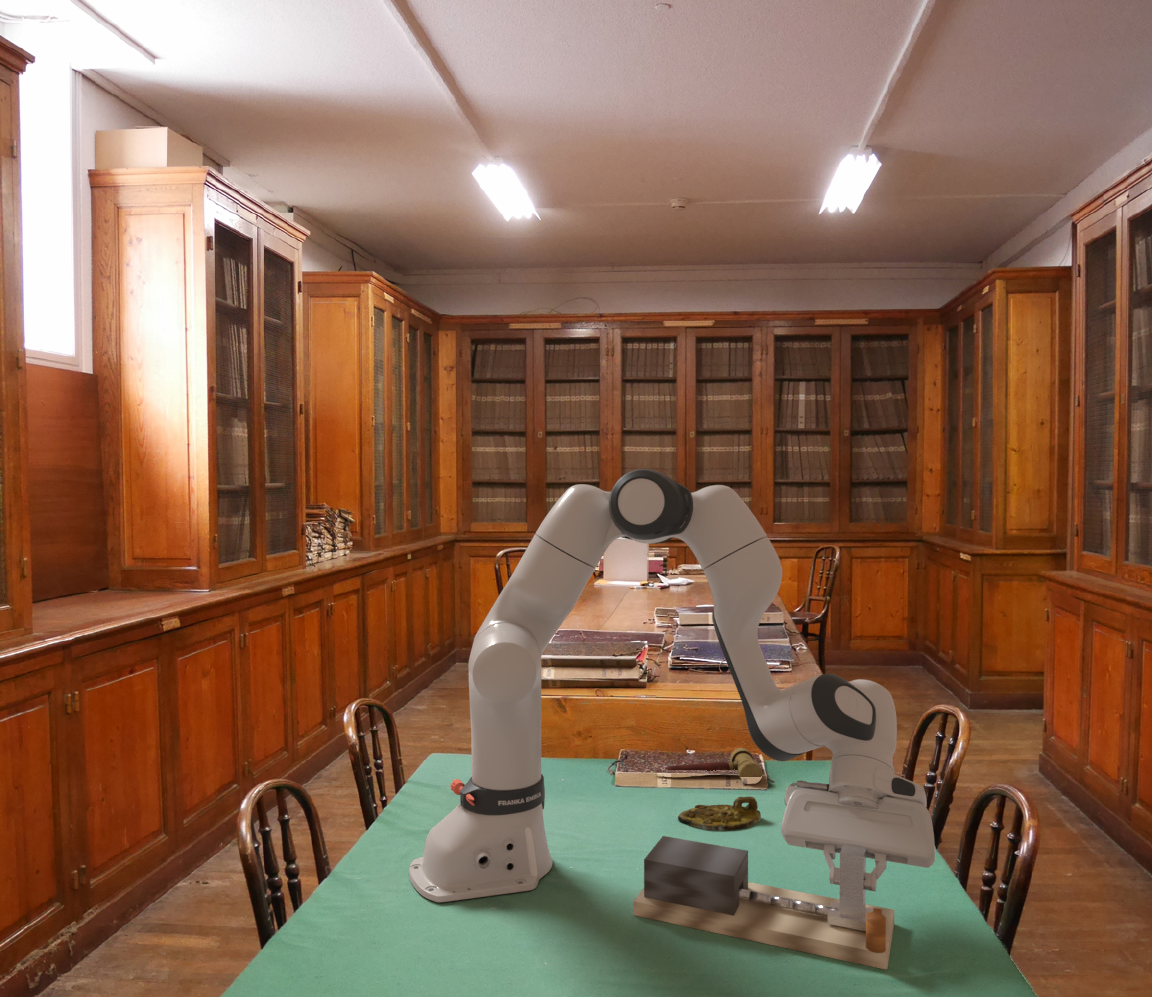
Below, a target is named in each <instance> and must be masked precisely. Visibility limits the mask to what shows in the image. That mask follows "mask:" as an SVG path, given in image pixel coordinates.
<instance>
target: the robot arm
mask: <svg viewBox="0 0 1152 997" xmlns="http://www.w3.org/2000/svg"><path fill="white" fill-rule="evenodd" d="M619 538H622V539H627V540H632V541H635V542H637V543H640V544H650V545H653V544H654V545H655V544H662V543H666V542H668V541H670V540H671V539H673V538H676V539H679V540H681V541H682V542H684V543H685V544H686V545H687V546H688V548H689V549H690V550H691V552H692V554H693V555H694V557H695V559H696V560H697V562H698V564H699V566H700V568H701V570H702V572H703V573H704V575H705V578H706V580H707V583H708V585H709V589H710V592H711V596H712V601H713V602H712V603H713V608H712V613H711V616H712V617H711V618H712V624H713V627H714V628H713V629H714V632H715V634H716V638H717V640H718V643H719V646H720V649H721V651H722V654H723V656H724V659H725V661H726V665H727V666H728V667H727V668H728V669H729V672H730V674H731V677H732V679H733V682H734V685H735V687H736V690H737V693H738V695H739V697H740V700H741V704H742V706H743V710H744V715H745V719H746V725H747V728H748V733H749V735H750V738H751V740H752V742H753V743H754V744H755V746H756V747H757V748H758V749H759V750H760V751H761V752H762V753H763V754H765V756H767V757H769V758H770V759H772V760H775V761H778V762H788V761H790V760H793V759H795V758H798V757H800V756H801V755H804V754H806V753H808V752H810V751H814V750H817V749H820V748H827V749H828V750H830V752H831V753H832V758H831V761H830V771H829V777H828V783H822V782H809V781H806V780H797V782H792V783H791V784H788V786H787V787H786V789H785V794H784V804H785V809H784V812H783V816H782V817H783V818H782V821H781V828H780V832H781V836H782V838H783V839H784V840H785V842H786V843H787V845H789V846H792V847H793V846H794V847H799V848H805V849H811V850H817V851H823V857H824V859H825V861H826V864H827V866H828V868H829V879H828V880H829V884H830V885H836V886H837V885H838V886H840V867H837V866H835V863H834V860H836V858H837V857H836V856H837V854H840V851H841V848H842V845H843V844H846V845H852V846H859V847H865V848H866V859H870V860H871V859H872V860H874V862H875V867H874V868H873V870H872V871H871V872H866V873H865V875H864V878H865V880H864V889H865V890H866V891H870V892H875V893H876V892H877V881H878V880H879V878H881V876H882V875H883V873H884V872H885V871H886V870H887V864H888V863H887V862H890V863H895V864H901V865H902V864H903V865H907V866H915V867H919V868H920V867H921V868H926V869H928V868H930V867H932V866H933V865H934V863H935V862H936V848H935V847H936V846H935V833H934V827H933V821H932V817H931V816H932V815H931V814H930V811H929V810H928V808H927V807H928V805H927V804H928V803H927V795H926V791H925V789H924V787H923V786H922V785H921V784H919V783H916V782H914V781H912V780H910V779H906V778H904V777H901V776H900V775H897V774H895V768H894V767H895V766H894V763H893V757H894V754H895V752H896V750H897V736H898V735H897V734H898V732H897V731H898V723H897V722H898V720H897V713H896V707H895V700H894V699H893V696H892V694H891V693H890V691H889V690H888V689H887V688H886V687H884V686H883V685H881V684H879V683H877V682H875V681H873V680H869V679H864V678H863V679H861V678H859V679H858V678H857V679H853V680H851V681H848V680H847V679H844V678H843V677H841V676H839V675H837V674H834V673H823V674H820V675H816V676H813V677H811V678H808V679H806V680H803V681H800V682H798V683H796V684H794V685H791V686H789V687H786V688H784V689H781V688H779V687H778V686H777V685H776V683H775V680H774V678H773V676H772V672H771V670H770V667H769V665H768V663H767V661H766V660H767V659H766V658H765V656H764V653H763V650H762V647H761V644H760V642H759V637H758V635H759V634H758V630H759V626H760V622H761V619H762V618H763V616H764V614H765V613H766V611H767V610H768V609H769V607H770V606H771V605H772V603H773V602H774V600H775V598H776V597H777V594H778V593H779V591H780V588H781V585H782V579H783V567H782V564H781V560H780V558H779V555H778V553H777V551H776V549H775V547H774V545H773V544H772V542H771V540H770V539H769V537H768V535H767V533H766V531H765V530H764V528H763V526H762V525H761V523H760V522H759V520H758V519H757V517H756V516H755V515H754V513H753V512H752V511H751V509H750V508H749V506H748V505H747V504H746V503H745V502H744V500H743V499H742V498H741V497H740V496H739V494H738V493H737V492H736V491H735V490H734V488H732V487H730V486H727V485H724V484H715V485H714V484H713V485H709V486H706V487H703V488H700V489H698V490H696V491H693V492H691V490H690V489H689V488H688V487H686V486H684V485H682V483H681V484H680V483H679V482H678V481H676V480H674V479H673V478H671V477H670V476H668V475H667V474H665V473H663V472H660V471H658V470H656V469H655V470H654V469H651V468H639V469H633V470H632V471H628V472H626V473H625V474H624V475H622V476H621V477H620V478H619V479H618V480H617V481H616V483H614V485H613V486H612V490H610V491H606V490H603V489H601V488H600V487H599V488H598V487H597V486H594V485H591V484H583V483H582V484H581V483H580V484H575V485H572V486H570V487H568V488H567V489H566V490H565V492H564V493H563V494H562V495H561V496H560V497H559V498H558V500H556V502H555V504H553V506H552V507H551V509H550V510H549V512H548V513H547V514H546V516H545V517H544V519H543V520H542V522H541V523H540V525H539V527H538V529H537V530H536V532H535V533H534V535H533V537H532V538H531V540H530V542H529V544H528V546H527V548H526V549H525V551H524V553H523V555H522V556H521V559H520V560H519V562H518V564H517V565H516V567H515V569H514V570H513V572H512V574H511V576H510V577H509V579H508V581H507V583H506V584H505V586H504V587H503V589H502V590H501V592H500V593H499V595H498V597H497V599H496V600H495V602H494V604H493V605H492V606H491V609H490V610H489V612H488V613H487V615H486V617H484V618H485V619H484V621H482V624H481V625H480V627H479V628H478V630H477V632H476V634H475V635H474V639H473V642H472V646H471V651H470V654H469V658H468V665H467V666H468V695H469V697H468V698H469V716H470V731H471V732H470V733H471V735H470V736H471V737H470V738H471V744H470V745H471V747H470V748H471V776H470V778H469V780H468V781H467V782H466V783H463V781H462V780H461V779H459V778H456V779H453V780H452V782H451V783H450V786H449V787H450V790H451V791H452V792H453V793H454V794H455V795H457V796H459V798H460V799H459V801H460V803H459V804H458V805H457V806H456V807H455V808H453V810H451V811H450V812H449V813H448V814H447V815H446V816H445V817H443V818H442V819H441V820H440V821H439V822H438V823H437V824H435V825H434V826H433V827H432V828H430V830H429V832H428V834H427V836H426V839H425V843H424V849H423V856H420V857H417V858H415V859H413V860H412V861H411V863H410V865H409V871H408V876H409V880H410V882H411V885H412V886H413V888H415V890H416V891H417V892H418V893H419V894H420V895H421V896H422V897H423V898H426V899H427V900H430V901H433V902H435V903H447V902H453V901H460V900H461V901H462V900H468V899H475V898H476V899H477V898H482V897H484V898H485V897H492V896H498V895H506V894H513V893H521V892H528V891H533V890H535V889H536V888H537V886H538V884H539V881H540V879H542V878H543V877H544V876H545V875H547V874H548V873H549V872H550V871H551V869H552V867H553V858H552V856H551V853H550V848H549V845H548V840H547V835H546V829H545V822H544V821H545V820H544V811H543V810H544V809H545V801H546V800H545V798H546V797H545V796H546V789H545V788H546V787H545V777H544V775H543V774H542V655H543V653H544V651H545V650H546V648H547V646H548V645H549V644H550V642H551V640H552V639H553V638H554V636H555V634H556V633H557V631H558V630H559V628H561V626H562V624H563V622H564V621H565V620H566V618H568V617H569V615H570V614H571V613H572V611H573V610H574V607H575V606H576V604H577V602H578V601H579V599H580V597H581V595H582V593H583V591H584V589H585V588H586V586H587V585H588V583H589V581H590V580H591V578H592V576H593V574H594V572H595V571H596V568H597V567H598V566H599V563H600V561H601V560H602V557H603V556H604V555H605V552H606V551H607V549H608V548H609V547H610V546H611V544H612V543H613V542H614V541H615V540H618V539H619Z"/></svg>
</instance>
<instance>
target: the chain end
mask: <svg viewBox="0 0 1152 997" xmlns="http://www.w3.org/2000/svg"><path fill="white" fill-rule="evenodd" d="M866 859H867V858H866V848H865V847H859V846H852V845H846V844H843V845H842V848H841V851H840V853H839V868H840V885H839V899H840V903H839V902H833V901H832V902H831V905H830V906H827V905H822V904H817V903H816V904H815V903H812V902H807V901H801V900H796V899H794V900H793V899H791V898H786V897H781V896H775V895H770V894H765V893H760V892H755V891H749V890H744V889H739V899H740V900H745V901H750V902H755V903H760V904H765V905H771V906H775V907H780V908H785V909H790V910H792V909H793V910H795V911H801V912H806V913H811V914H816V915H821V916H826V917H828V922H827V924H831V925H836V926H841V927H846V928H851V929H856V930H861V931H866V914H867V913H870V912H873V909H870V908H866V904H867V903H866V899H867V898H866V897H867V896H866V891H867V890H865V889H864V880H865V878H864V875H865V873H867V871H866V870H867V869H866V868H867V862H866V861H867V860H866Z"/></svg>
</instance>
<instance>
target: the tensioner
mask: <svg viewBox="0 0 1152 997" xmlns="http://www.w3.org/2000/svg"><path fill="white" fill-rule="evenodd" d="M739 889H744V890H749V891H755V892H760V893H765V894H770V895H775V896H781V897H786V898H791V899H793V900H794V899H796V900H801V901H807V902H812V903H815V904H816V903H817V904H822V905H827V906H830V905H831V902H832V901H833V902H839V903H840V898H834V897H829V896H824V895H818V894H813V893H807V892H803V891H797V890H791V889H788V888H781V887H776V886H770V885H765V884H759V883H755V882H749V850H748V849H747V850H746V849H742V848H741V849H739V848H735V847H729V846H723V845H719V844H712V843H707V842H700V841H695V840H689V839H683V838H677V837H672V836H666V835H663V836H662V837H661V838H660V839H659V840H658V841H657V843H655V845H654V846H653V848H652V849H651V850H650V851H649V853H648V854H647V855H646V857H645V858H644V859H643V888H642V889H641V891H640V892H639V893H638V894H637V895H636V898H635V899H634V900H633V916H634V917H635V916H636V917H641V918H644V919H650V920H653V921H659V922H664V923H669V924H673V925H676V926H677V925H678V926H682V927H686V928H691V929H695V930H700V931H705V932H711V933H715V934H719V935H724V936H728V937H733V938H737V939H743V940H747V941H753V942H757V943H760V944H766V945H770V946H776V947H780V948H784V949H788V950H792V951H799V952H802V953H808V954H813V955H817V956H821V957H825V958H829V959H830V958H831V959H835V960H840V961H845V962H849V963H854V964H859V965H862V966H867V967H873V968H878V969H882V970H886V971H887V970H888V967H889V961H890V955H891V948H892V942H893V934H894V930H895V929H894V927H895V909H893V908H887V907H881V906H876V905H871V904H867V903H866V908H870V909H873V912H870V913H867V914H866V931H861V930H856V929H851V928H846V927H841V926H836V925H831V924H827V922H828V917H826V916H821V915H816V914H811V913H806V912H801V911H795V910H793V909H792V910H790V909H785V908H780V907H775V906H771V905H765V904H760V903H755V902H750V901H745V900H740V899H739Z"/></svg>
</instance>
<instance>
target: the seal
mask: <svg viewBox="0 0 1152 997" xmlns="http://www.w3.org/2000/svg"><path fill="white" fill-rule="evenodd" d="M743 804H747V805H746V806H743ZM761 815H762V813H761V811H760V810H758V801H757V800H756V797H754V796H739V797H737V798H735V799H734V801H733V804H732V805H731V804H713V805H712V804H711V805H707V804H696V805H694V807H692V808H689V809H687V810H684V811H682V812H680V813H679V815H678V816H677V820H678V821H679V822H682V823H684V824H686V825H688V826H689V827H691V828H694V829H697V830H698V829H699V830H704V831H714V832H715V831H720V832H723V831H726V832H727V831H734V830H735V831H736V830H742V829H748V828H750V827H752V826H755V825H756V824H757V823H759V822H760V821H761V817H762V816H761Z"/></svg>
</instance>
